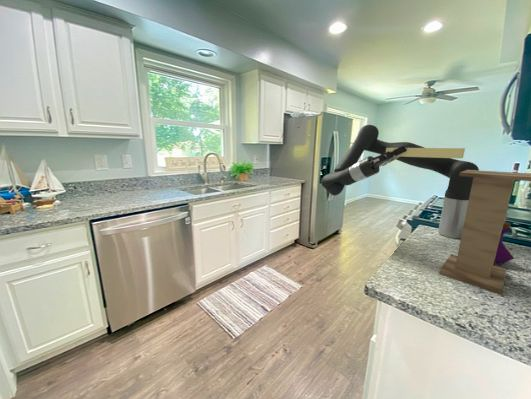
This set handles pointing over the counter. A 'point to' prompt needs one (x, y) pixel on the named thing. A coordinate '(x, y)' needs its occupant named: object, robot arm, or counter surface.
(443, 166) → the robot arm
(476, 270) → the walnut stand
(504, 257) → the perfume bottle
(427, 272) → the counter surface
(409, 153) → the ochre bar
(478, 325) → the counter surface
